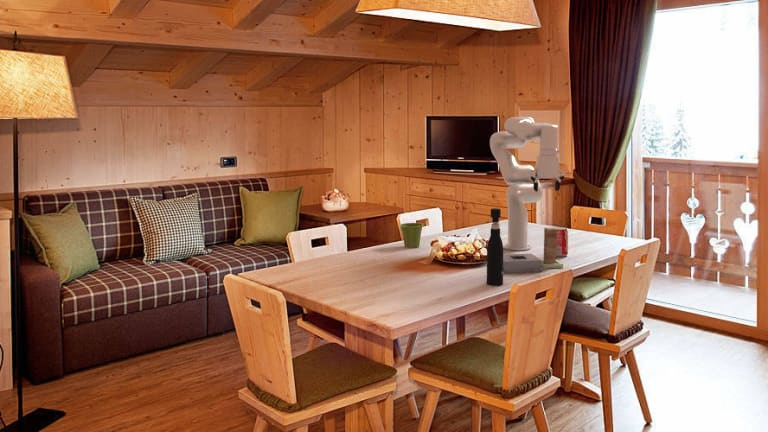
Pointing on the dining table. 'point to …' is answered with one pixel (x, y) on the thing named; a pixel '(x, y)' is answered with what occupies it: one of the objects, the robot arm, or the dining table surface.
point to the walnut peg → (549, 246)
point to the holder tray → (552, 265)
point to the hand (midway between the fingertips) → (546, 190)
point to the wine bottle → (495, 252)
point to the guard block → (521, 263)
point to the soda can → (561, 241)
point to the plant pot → (411, 234)
